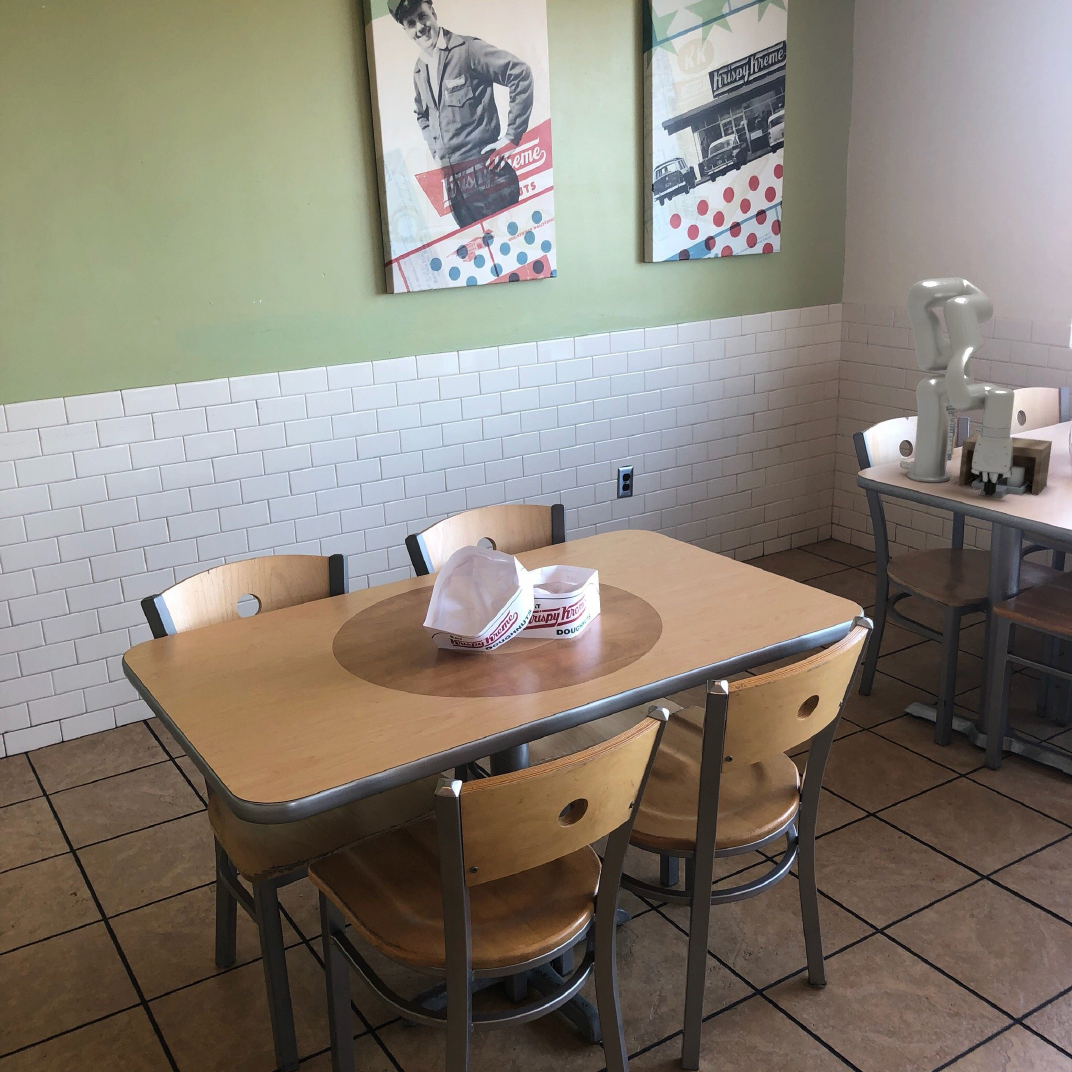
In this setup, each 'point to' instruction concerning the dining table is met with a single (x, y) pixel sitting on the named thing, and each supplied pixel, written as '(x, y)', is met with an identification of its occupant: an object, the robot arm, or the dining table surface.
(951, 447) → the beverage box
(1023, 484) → the glasses tray
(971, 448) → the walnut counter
